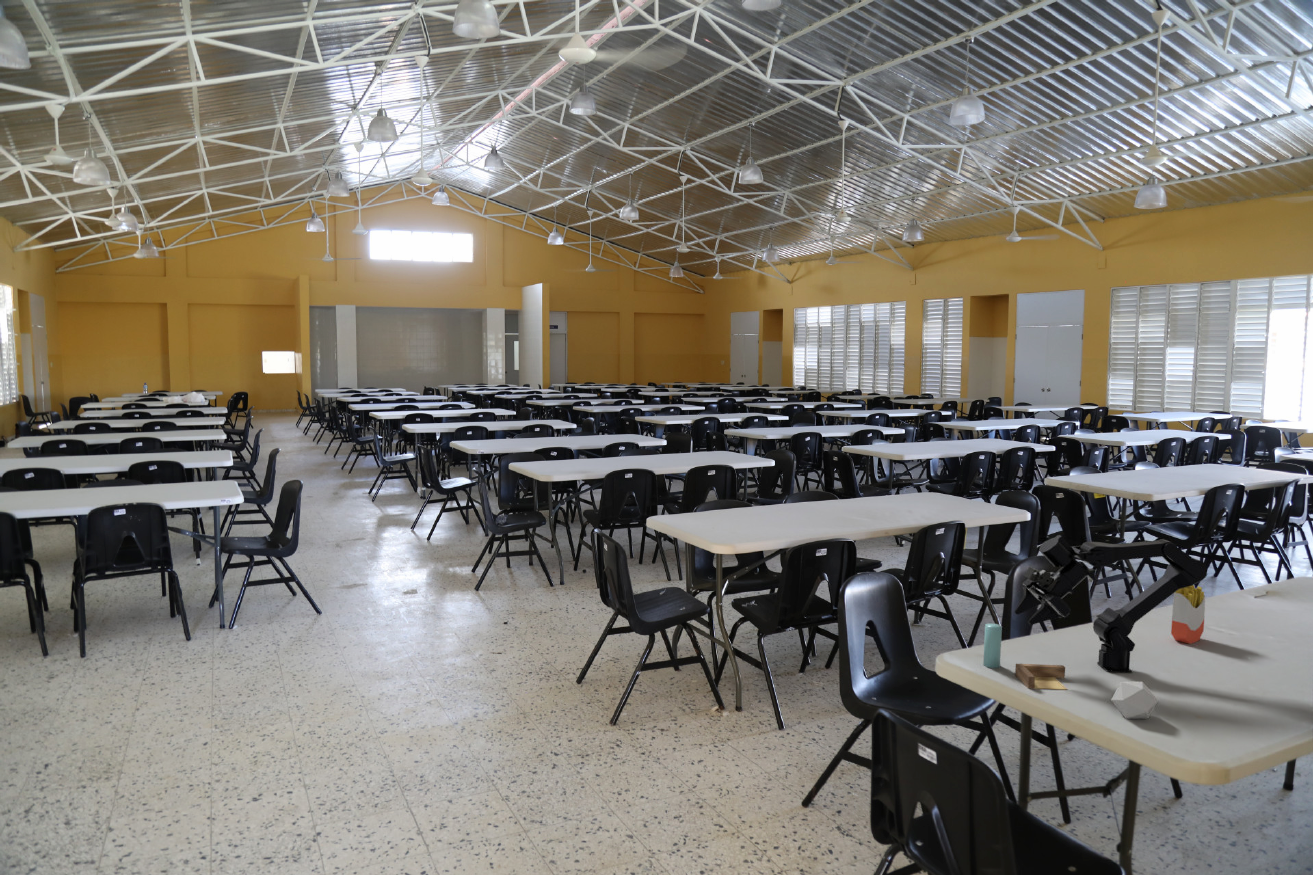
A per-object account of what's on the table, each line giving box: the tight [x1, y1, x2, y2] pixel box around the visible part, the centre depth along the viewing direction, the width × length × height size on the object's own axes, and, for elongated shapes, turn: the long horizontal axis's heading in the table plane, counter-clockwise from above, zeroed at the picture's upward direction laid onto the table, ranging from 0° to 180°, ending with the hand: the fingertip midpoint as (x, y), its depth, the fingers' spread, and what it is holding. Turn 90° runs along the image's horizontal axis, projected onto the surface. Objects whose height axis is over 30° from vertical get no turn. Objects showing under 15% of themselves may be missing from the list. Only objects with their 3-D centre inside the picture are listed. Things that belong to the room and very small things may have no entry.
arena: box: [1014, 663, 1068, 691], centre depth 219 cm, size 12×10×3 cm
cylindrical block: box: [983, 623, 1003, 669], centre depth 230 cm, size 4×4×11 cm
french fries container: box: [1170, 584, 1206, 645], centre depth 253 cm, size 5×11×18 cm, turn 124°
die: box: [1110, 681, 1159, 720], centre depth 198 cm, size 8×9×10 cm
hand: (1022, 618), depth 229 cm, fingers open, 9 cm apart
